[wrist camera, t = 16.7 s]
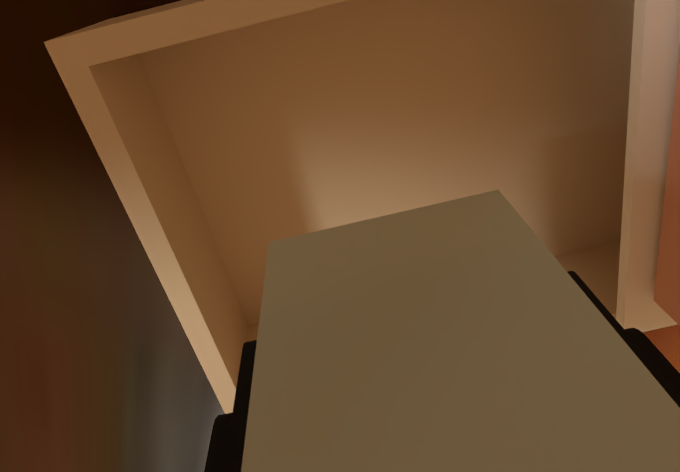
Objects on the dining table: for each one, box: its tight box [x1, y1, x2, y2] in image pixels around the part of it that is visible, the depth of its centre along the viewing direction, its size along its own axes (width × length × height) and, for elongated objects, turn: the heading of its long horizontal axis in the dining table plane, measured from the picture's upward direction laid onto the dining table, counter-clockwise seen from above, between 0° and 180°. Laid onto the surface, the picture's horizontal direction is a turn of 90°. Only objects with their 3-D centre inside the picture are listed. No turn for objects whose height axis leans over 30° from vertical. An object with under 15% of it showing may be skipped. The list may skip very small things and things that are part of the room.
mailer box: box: [44, 0, 635, 414], centre depth 18 cm, size 14×26×5 cm, turn 103°
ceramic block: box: [241, 190, 680, 472], centre depth 9 cm, size 5×5×7 cm
